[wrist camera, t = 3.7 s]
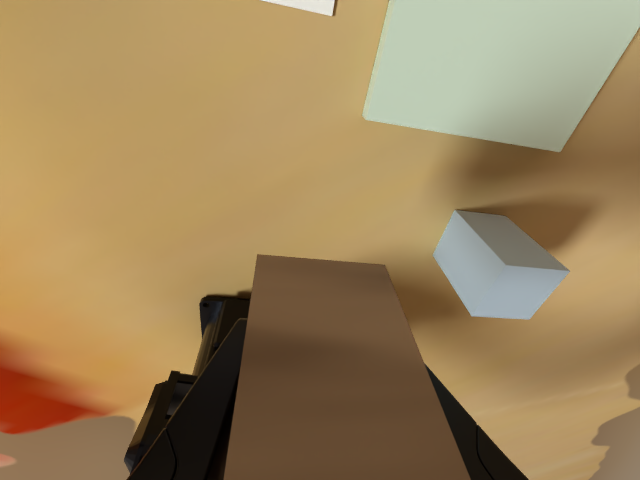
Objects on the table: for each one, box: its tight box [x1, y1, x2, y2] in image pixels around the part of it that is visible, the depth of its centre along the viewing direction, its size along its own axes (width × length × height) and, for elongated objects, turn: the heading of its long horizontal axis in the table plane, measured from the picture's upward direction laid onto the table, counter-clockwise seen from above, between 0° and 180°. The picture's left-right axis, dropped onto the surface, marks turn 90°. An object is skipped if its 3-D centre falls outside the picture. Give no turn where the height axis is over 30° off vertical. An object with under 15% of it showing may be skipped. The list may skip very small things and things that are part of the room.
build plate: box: [362, 0, 640, 152], centre depth 14 cm, size 12×12×1 cm
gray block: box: [433, 210, 570, 319], centre depth 19 cm, size 4×4×6 cm
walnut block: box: [224, 254, 471, 480], centre depth 8 cm, size 4×4×6 cm
